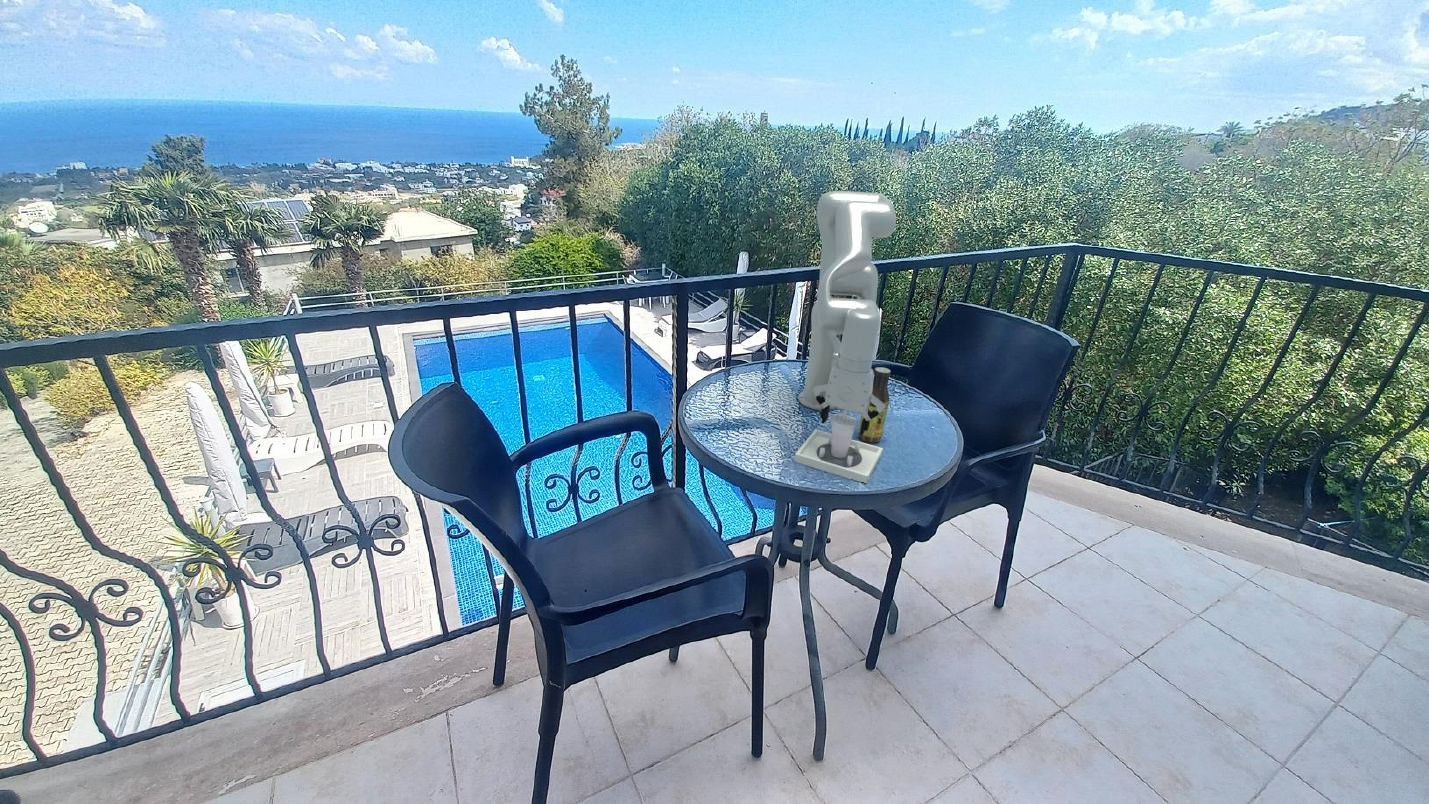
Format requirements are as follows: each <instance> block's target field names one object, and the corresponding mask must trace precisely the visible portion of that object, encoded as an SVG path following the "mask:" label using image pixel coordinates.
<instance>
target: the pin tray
mask: <svg viewBox="0 0 1429 804" xmlns="http://www.w3.org/2000/svg"><path fill="white" fill-rule="evenodd" d="M831 435H832V432H831V433H830V432H826V431H823V430H820V429H817V428H816V429H814V430H813V431H812V432H811V434H810V435H809V436H808V437H807V439H806V440H805V441H804V442H803V444H802V445H801V446H800V448H798V450H797V451H796V452H795V454H794V459H793V461H794V463H797V464H800V465H805V466H807V467H810V468H813V469H817V470H820V471H823V472H826V473H829V474H833V475H836V476H838V475H839V477H842V478H845V479H849V480H851V479H853V480H852V481H854V480H857V481H861V482H864V483H867V484H868V482H869V480H870V478H871V477H872V474H873V473H872V472H874V471H873V470H875V469H876V467H877V464H878V463H879V461H880V459H881V457H882V455H883V454H882V453H883V450H884V448H883V447H880V446H876V445H872V444H870V443H867V442H866V443H865V442H864V441H863V442H861V441H858V440H855V439H851V442H850V445H849V448H848V452H847V455H846V457H844V458H837V457H834V456H833V455H832V454H831ZM879 458H880V459H879ZM875 466H876V467H875ZM874 468H875V469H874ZM857 481H856V482H857ZM861 482H860V483H861ZM864 483H863V484H864Z"/></svg>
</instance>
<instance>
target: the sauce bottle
mask: <svg viewBox="0 0 1429 804" xmlns="http://www.w3.org/2000/svg"><path fill="white" fill-rule="evenodd" d="M891 371H892V370H890V369H889V368H887V367H883V366H882V367H881V366H880V367H878V366H877V367H875V368H874V369H873V390H872V394H873V395H874V396H875V397H876V398H878V399H879V400H880V401H881V402H883V403H884V404H885V405H886V406H885V408H884V410H883V411H882V412H881V413H880V414H879V415H878V416H876V417H874V418H872V419H870V424H869V428H868V431H865V432H864V434H863V435H861V434H860V430H861V425H862V420H863V419H864V416H863V415H862V413H860V414H861V415H860V421H859V425H858V433H857V435H858V436H857V437H858V439H860V440H862V441H863V442H866V443H868V444H870V443H873V444H874V443H878V442H880V441H881V438H882V436H883V433H884V428H885V423H886V419H887V414H888V408H889V405H890V396H889V395H890V394H889V388H888V386H889V385H888V384H889V380H890V377H891V374H892V372H891ZM869 408H870V409H871V411H873V410H875V409H877V407H876V406H875V405H874V404H873V403H870V405H869Z"/></svg>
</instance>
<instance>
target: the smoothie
mask: <svg viewBox="0 0 1429 804" xmlns="http://www.w3.org/2000/svg"><path fill="white" fill-rule="evenodd" d="M829 422H830V424H831V434H832V435H831V454H832V455H833V456H834V457H837V458H844V457H846V455H847V452H848V448H849V445H850V442H851V439H852V438H853V436H854V432H855V429H856V428H857V426H858V420H857V419H856V417H853V416H852V415H848V410H844V412H843V414H841V413H840V414H835V415H832V416H831V418H830V421H829ZM852 440H853V439H852Z"/></svg>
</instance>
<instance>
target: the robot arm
mask: <svg viewBox="0 0 1429 804" xmlns="http://www.w3.org/2000/svg"><path fill="white" fill-rule="evenodd" d="M816 210H817V211H816V219H817V220H816V221H817V226H818V231H819V234H820V239H821V252H820V253H821V255H820V264H819V265H820V266H819V278H818V279H819V284H818V288H817V295H816V297H817V299H816V302H815V303H814V304H813V306H812V309H811V316H810V317H811V318H810V321H811V336H810V337H811V338H810V347H809V356H808V361H807V371H806V377H805V386H804V390H803V391H801V392H800V393H799V394H798V401H799V403H801V405H802V406H804V407H807V408H810V409H812V410H817V411H820V415H819V416H820V417H819V418H820V419H821V421H820V422H821V424H825V423H826V422H827V421H828V420H829V414H830V410H835V409H841V410H844V411H845V410H847V412H853V413H856V414H862V415H863V416H864V419H863V420H862V425H861V430H860V434H861V435H863V434H864V432H865V431H868V428H869V424H870V419H872V418H874V417H876V416H878V415H879V414H880V413H881V412H882V411H883V410H884V408H885V406H886V405H885V404H884V403H883V402H881V401H880V400H879V399H878V398H876V397H875V396H874V395H873V394H872V390H873V379H874V369H873V368H872V364H873V360H874V355H875V349H876V345H877V340H878V335H879V329H880V325H881V315H880V314H881V313H880V308H879V307H878V305H877V298H878V297H877V296H878V285H879V284H878V283H879V275H878V274H879V273H878V269H877V267H876V265H875V264H874V263H872V259H873V257H872V238H878V239H886V238H888V237H890V236H892V234H893V233H894V230H895V227H896V223H897V217H896V216H897V215H896V210H895V206H894V205H893V203H892V201H890V199H888V197H886V196H885V195H884V194H882V193H879V192H866V191H865V192H863V191H851V190H849V191H848V190H832V191H827V192H825V193H823V194H822V195H820V197H819V200H818V202H817V207H816ZM831 295H835V296H836V295H837V296H851V297H852V296H853V297H856V299H855V298H846V297H845V298H842V297H838V298H837V297H832V296H831ZM837 335H842V337H841V341H840V339H839V338H838V336H837ZM870 403H873V404H874V405H875V406H876V407H877V409H875V410H873V411H871V409H870V408H869V405H870Z"/></svg>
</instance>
